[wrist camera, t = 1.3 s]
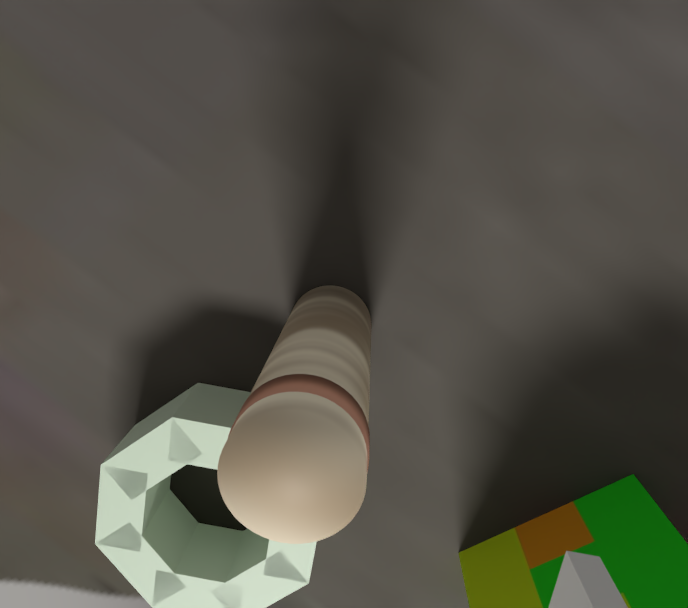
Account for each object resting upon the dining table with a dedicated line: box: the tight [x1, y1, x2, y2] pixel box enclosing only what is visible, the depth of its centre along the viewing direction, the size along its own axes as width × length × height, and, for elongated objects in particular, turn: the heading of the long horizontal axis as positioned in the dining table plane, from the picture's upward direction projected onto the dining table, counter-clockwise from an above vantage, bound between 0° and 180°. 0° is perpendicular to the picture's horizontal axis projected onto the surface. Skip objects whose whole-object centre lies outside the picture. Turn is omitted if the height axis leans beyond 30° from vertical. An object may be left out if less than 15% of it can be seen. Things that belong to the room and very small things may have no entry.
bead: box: [95, 383, 317, 608], centre depth 30 cm, size 10×10×4 cm
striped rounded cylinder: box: [217, 285, 371, 544], centre depth 23 cm, size 4×4×14 cm
